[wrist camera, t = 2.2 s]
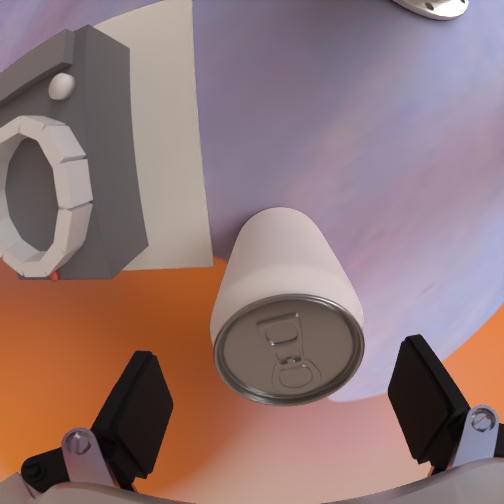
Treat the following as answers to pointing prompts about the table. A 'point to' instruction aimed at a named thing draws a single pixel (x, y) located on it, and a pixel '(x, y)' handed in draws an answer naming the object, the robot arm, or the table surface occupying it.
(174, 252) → the mat
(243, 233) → the can
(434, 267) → the table surface
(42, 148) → the camera body
